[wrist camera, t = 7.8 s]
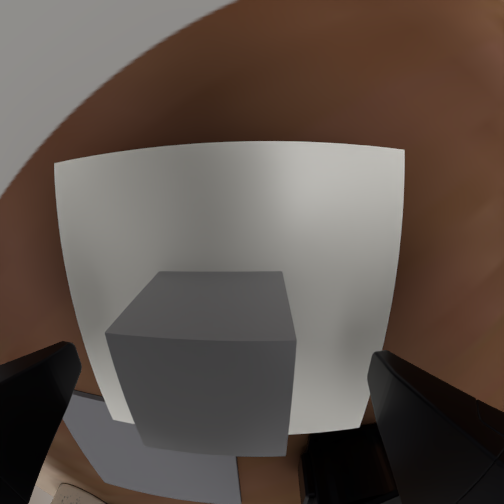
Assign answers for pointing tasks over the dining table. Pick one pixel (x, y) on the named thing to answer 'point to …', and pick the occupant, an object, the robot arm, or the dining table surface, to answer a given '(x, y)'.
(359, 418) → the lid
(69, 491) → the teacup with lid
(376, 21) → the dining table surface
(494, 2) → the dining table surface
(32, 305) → the dining table surface
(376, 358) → the robot arm
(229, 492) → the mat
